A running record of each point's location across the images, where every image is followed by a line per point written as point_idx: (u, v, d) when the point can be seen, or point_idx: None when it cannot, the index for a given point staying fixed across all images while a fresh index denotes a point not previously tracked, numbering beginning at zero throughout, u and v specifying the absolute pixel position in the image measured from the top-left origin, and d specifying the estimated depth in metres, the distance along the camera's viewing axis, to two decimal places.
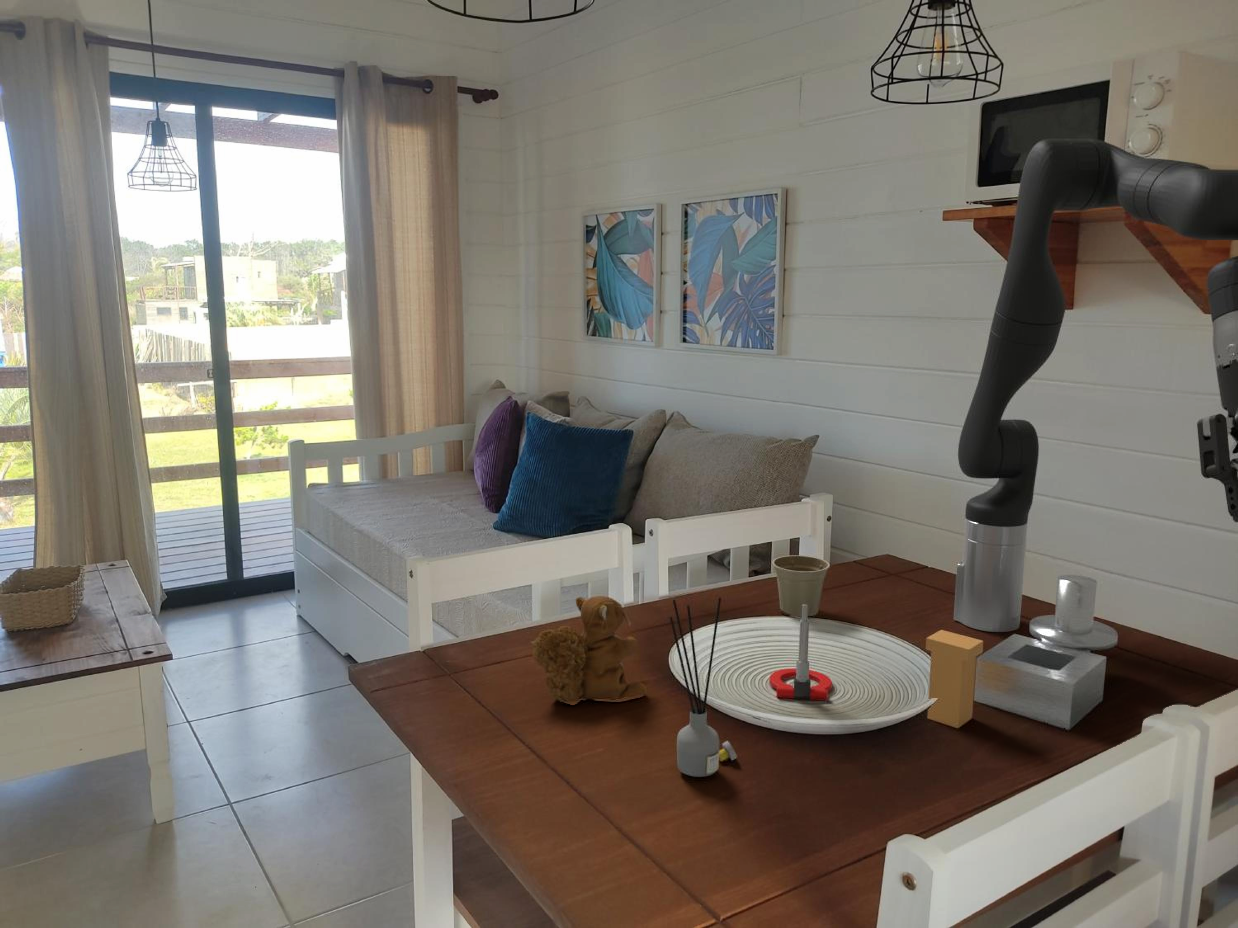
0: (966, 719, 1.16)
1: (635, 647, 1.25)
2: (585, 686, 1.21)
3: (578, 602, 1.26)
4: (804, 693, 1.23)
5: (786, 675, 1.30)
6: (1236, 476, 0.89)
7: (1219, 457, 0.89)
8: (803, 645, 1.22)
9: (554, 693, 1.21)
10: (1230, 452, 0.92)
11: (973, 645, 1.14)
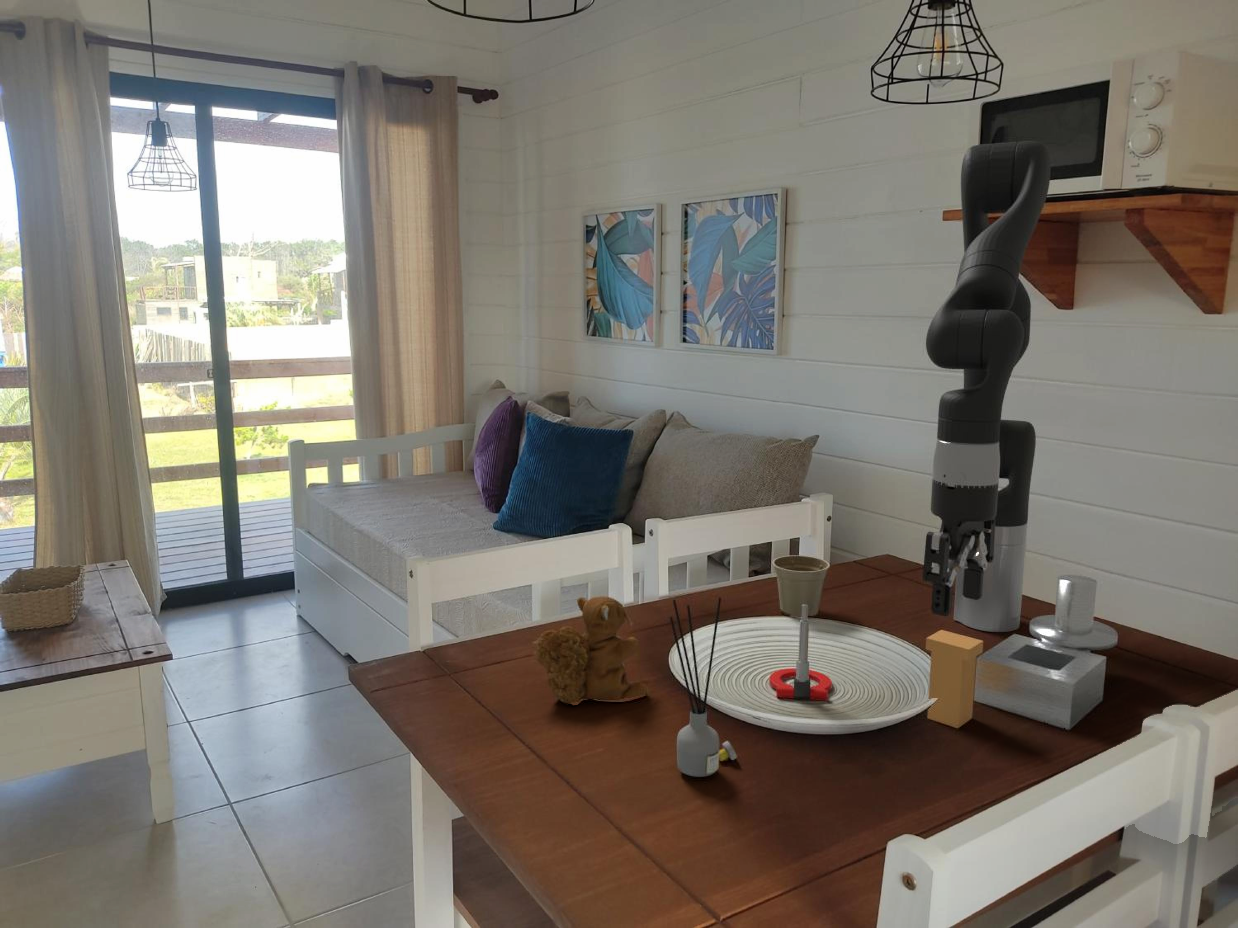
0: (966, 719, 1.16)
1: (637, 647, 1.25)
2: (587, 686, 1.21)
3: (580, 602, 1.25)
4: (804, 693, 1.23)
5: (786, 675, 1.30)
6: (947, 583, 1.10)
7: (943, 571, 1.08)
8: (803, 645, 1.22)
9: (556, 693, 1.21)
10: None
11: (973, 645, 1.14)
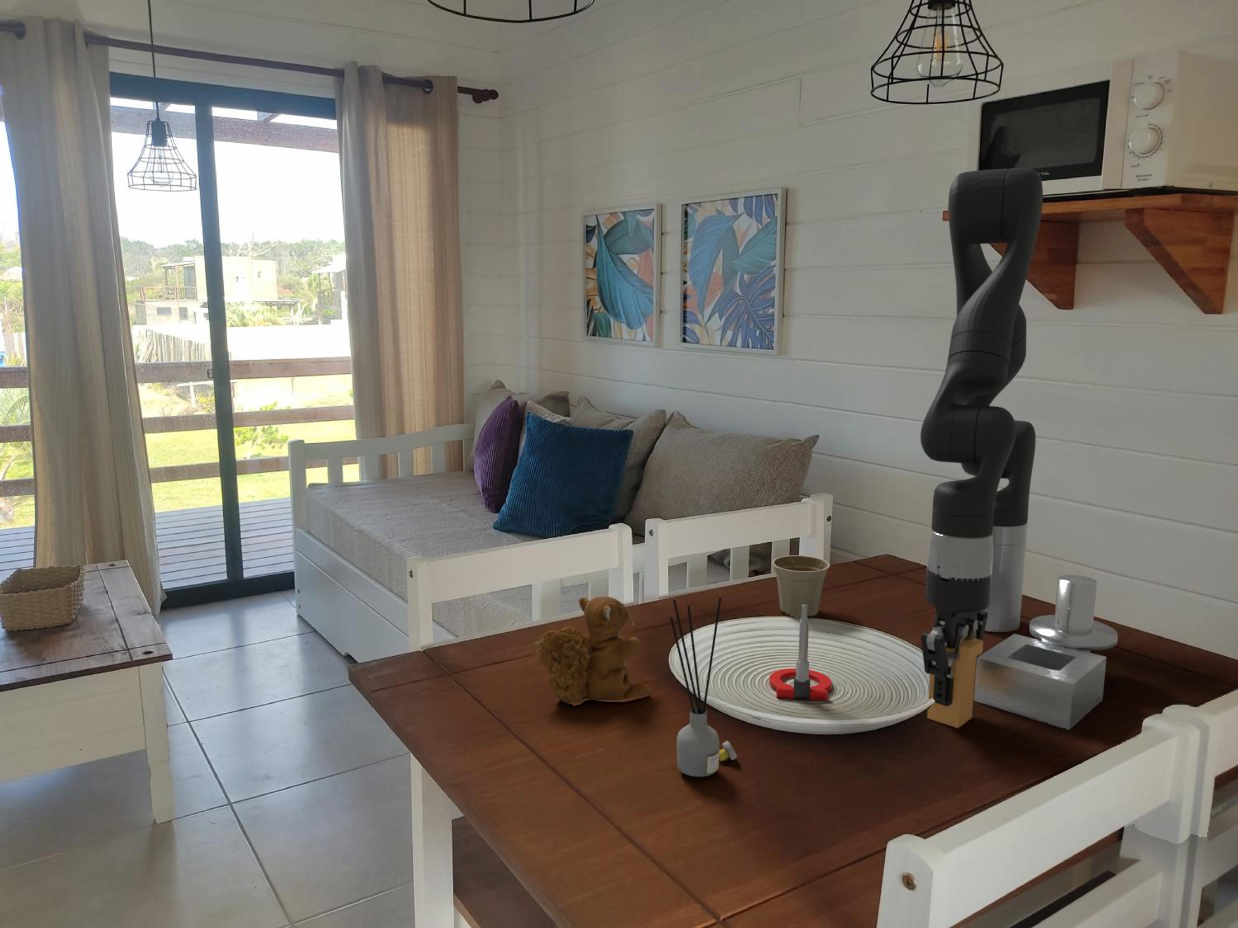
0: (966, 719, 1.16)
1: (638, 647, 1.25)
2: (589, 687, 1.21)
3: (581, 602, 1.25)
4: (804, 693, 1.23)
5: (786, 675, 1.30)
6: (948, 676, 1.13)
7: (943, 669, 1.11)
8: (803, 645, 1.22)
9: (558, 694, 1.20)
10: None
11: (973, 645, 1.14)
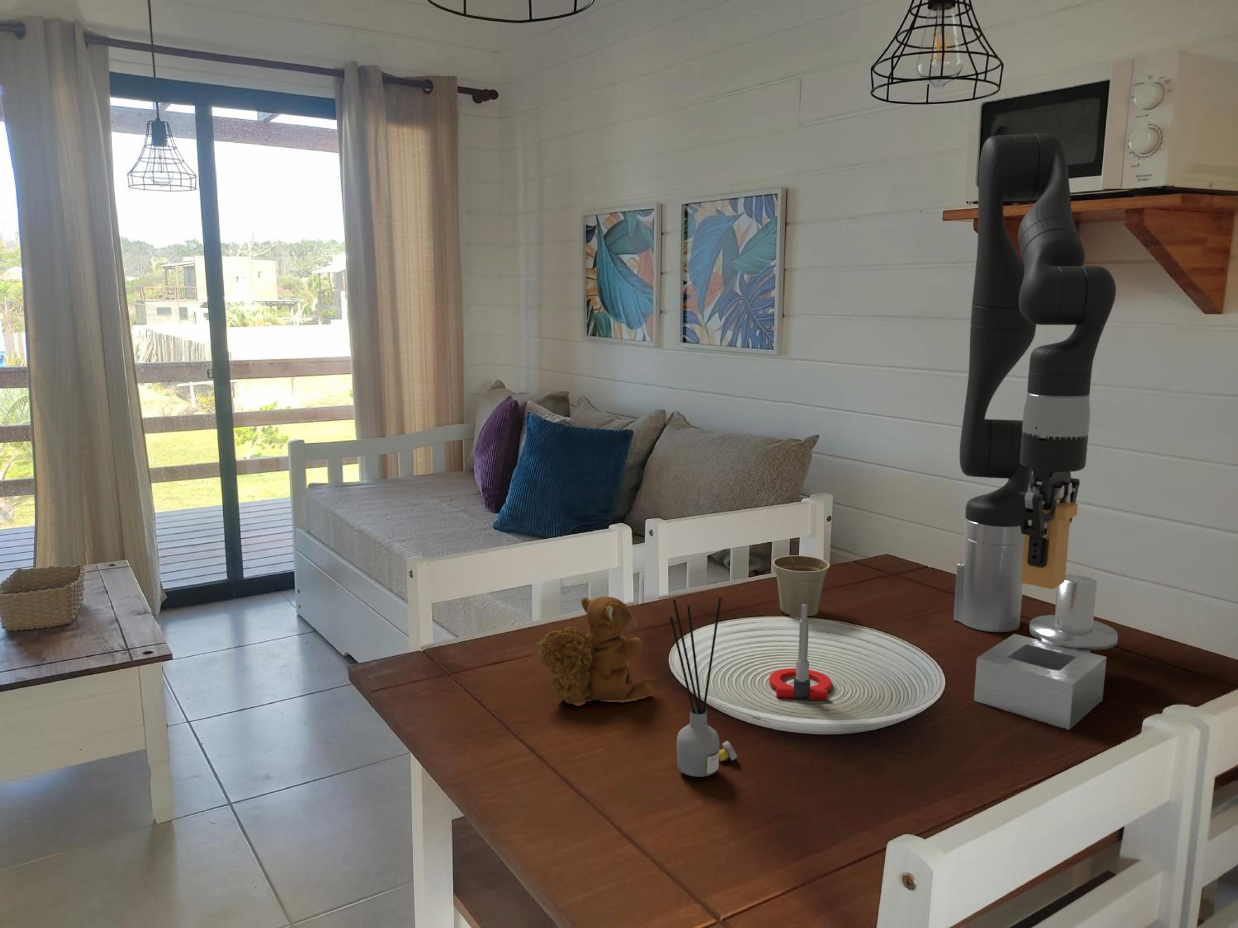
0: (1060, 582, 1.18)
1: (641, 647, 1.25)
2: (592, 687, 1.21)
3: (584, 603, 1.25)
4: (804, 693, 1.23)
5: (786, 675, 1.30)
6: (1044, 536, 1.15)
7: (1040, 527, 1.13)
8: (803, 645, 1.22)
9: (561, 694, 1.20)
10: None
11: (1069, 506, 1.16)
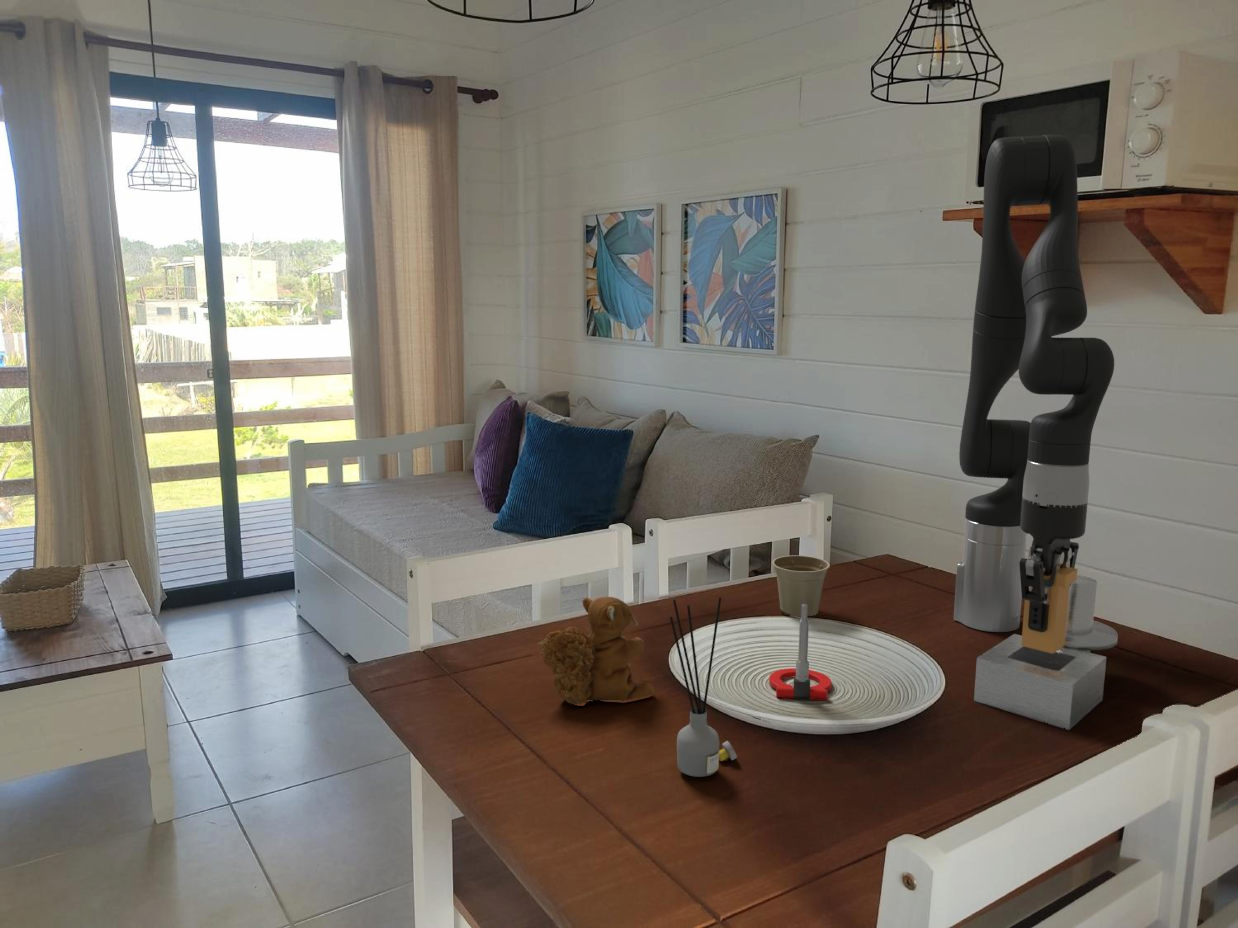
0: (1060, 646, 1.20)
1: (642, 647, 1.25)
2: (593, 687, 1.21)
3: (585, 603, 1.25)
4: (804, 693, 1.23)
5: (786, 675, 1.30)
6: (1044, 602, 1.17)
7: (1041, 593, 1.15)
8: (803, 645, 1.22)
9: (562, 694, 1.20)
10: None
11: (1069, 572, 1.17)
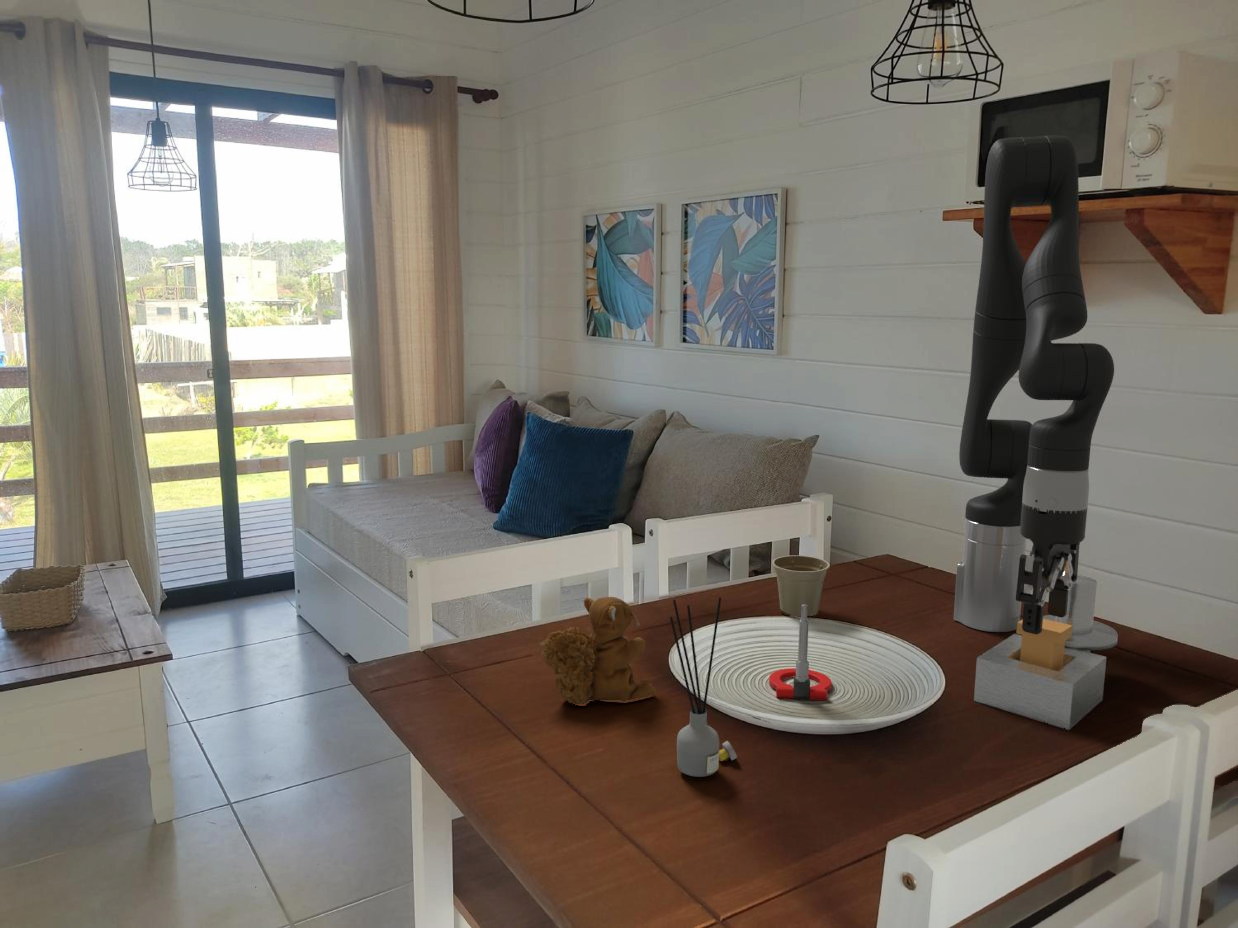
0: None
1: (643, 648, 1.25)
2: (595, 687, 1.21)
3: (586, 603, 1.25)
4: (803, 693, 1.23)
5: (786, 675, 1.30)
6: (1039, 604, 1.15)
7: (1036, 592, 1.14)
8: (803, 645, 1.22)
9: (564, 694, 1.20)
10: None
11: (1064, 629, 1.19)
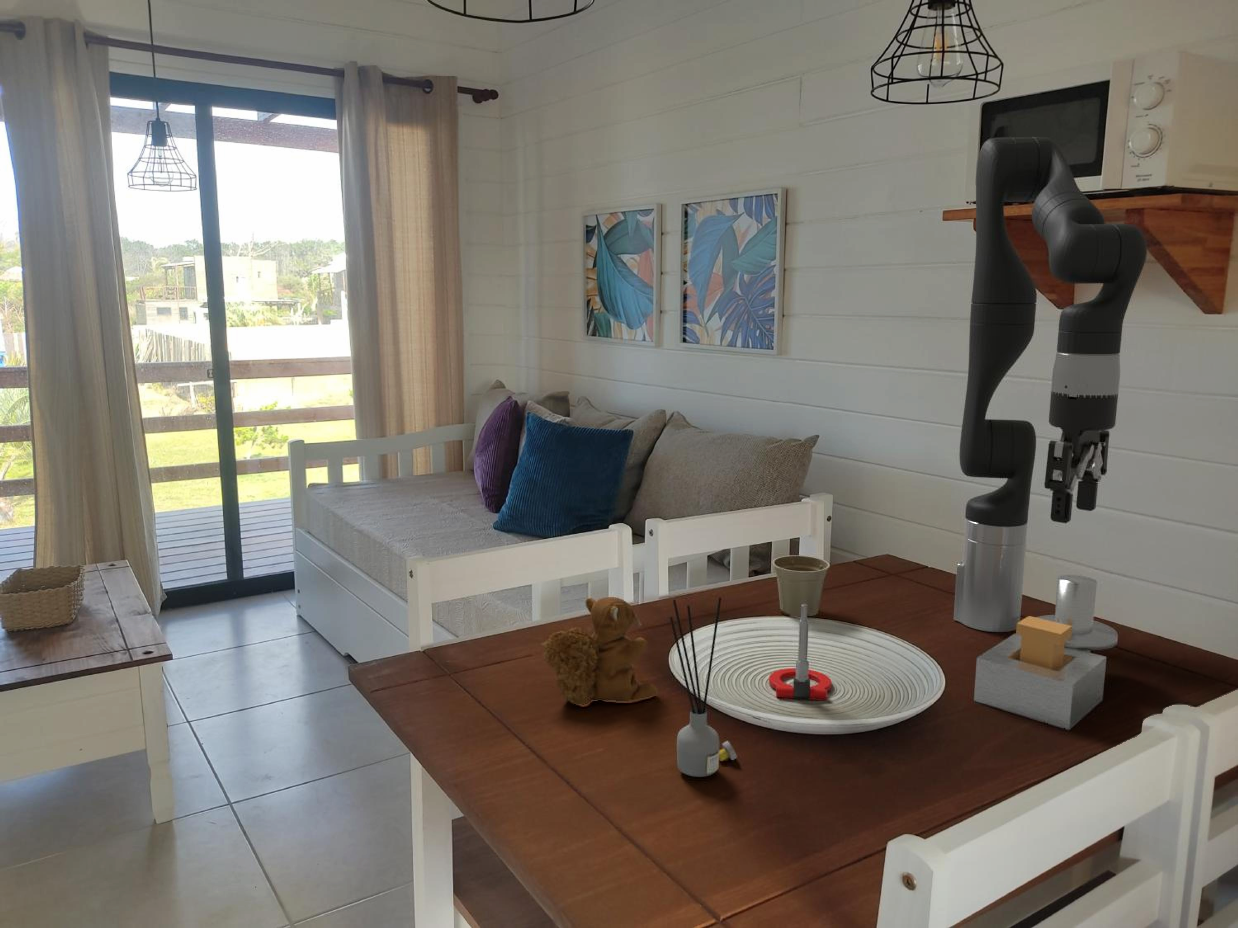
0: None
1: (645, 648, 1.25)
2: (597, 687, 1.21)
3: (588, 603, 1.25)
4: (803, 693, 1.23)
5: (786, 675, 1.30)
6: (1068, 491, 1.14)
7: (1066, 478, 1.12)
8: (803, 645, 1.22)
9: (566, 695, 1.20)
10: None
11: (1063, 630, 1.19)
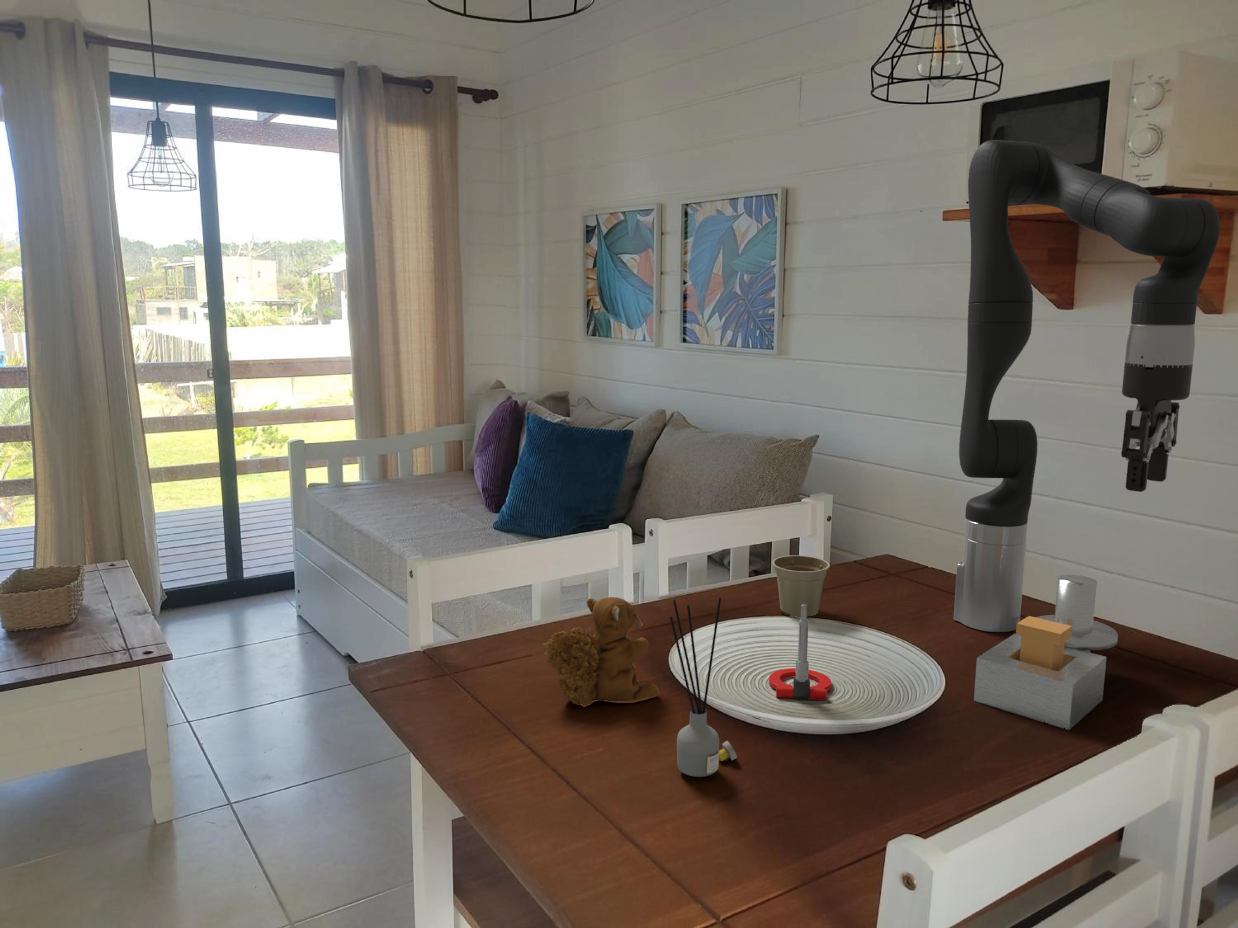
0: None
1: (647, 648, 1.25)
2: (599, 688, 1.21)
3: (589, 603, 1.25)
4: (803, 693, 1.23)
5: (786, 675, 1.30)
6: (1145, 459, 1.16)
7: (1144, 446, 1.14)
8: (802, 645, 1.22)
9: (567, 695, 1.20)
10: None
11: (1063, 630, 1.19)
